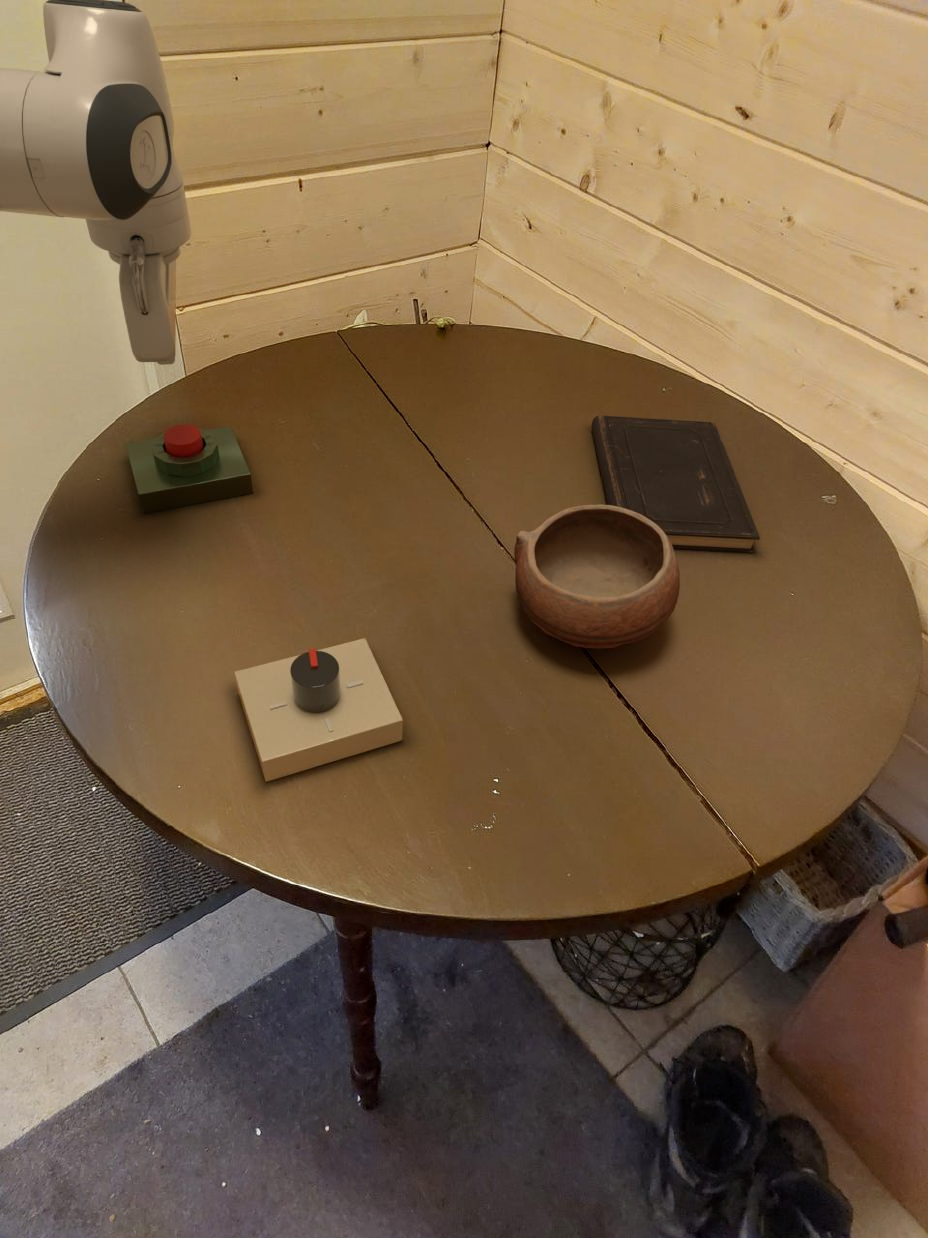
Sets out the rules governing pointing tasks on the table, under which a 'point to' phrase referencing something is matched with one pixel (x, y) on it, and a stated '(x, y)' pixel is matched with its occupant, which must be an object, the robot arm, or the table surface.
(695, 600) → the table surface
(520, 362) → the table surface
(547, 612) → the bowl
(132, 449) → the button box
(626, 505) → the old dark book
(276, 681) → the hob panel
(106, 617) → the table surface
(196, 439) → the red push button
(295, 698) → the hob knob
